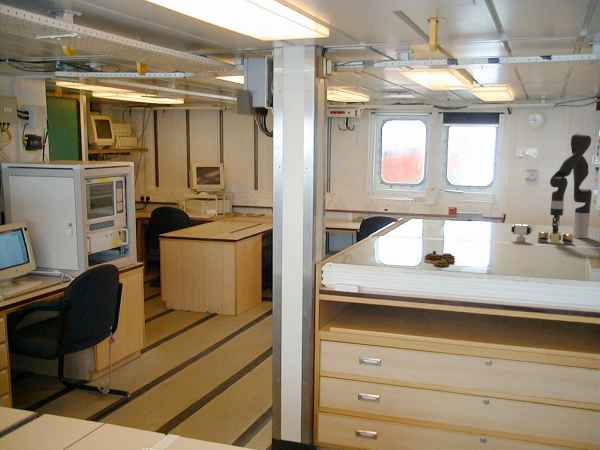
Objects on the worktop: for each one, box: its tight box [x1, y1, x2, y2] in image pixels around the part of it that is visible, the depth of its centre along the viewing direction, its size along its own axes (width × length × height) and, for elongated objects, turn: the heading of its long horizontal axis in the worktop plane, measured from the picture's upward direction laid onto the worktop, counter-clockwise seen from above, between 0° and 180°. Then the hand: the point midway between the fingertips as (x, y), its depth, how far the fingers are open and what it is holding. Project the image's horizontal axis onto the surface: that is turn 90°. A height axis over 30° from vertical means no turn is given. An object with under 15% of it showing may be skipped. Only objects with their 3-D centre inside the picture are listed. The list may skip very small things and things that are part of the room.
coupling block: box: [549, 231, 562, 245], centre depth 393 cm, size 7×5×7 cm
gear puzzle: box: [423, 250, 456, 267], centre depth 324 cm, size 31×16×4 cm, turn 167°
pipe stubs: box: [537, 230, 574, 246], centre depth 393 cm, size 6×20×7 cm, turn 61°
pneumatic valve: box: [510, 223, 533, 243], centre depth 397 cm, size 6×12×12 cm, turn 57°
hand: (555, 232), depth 393 cm, fingers open, 8 cm apart
